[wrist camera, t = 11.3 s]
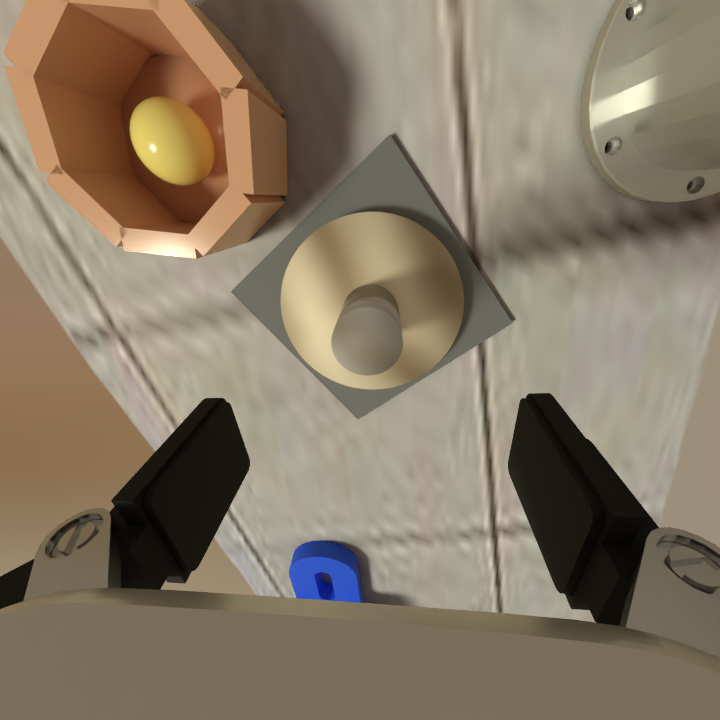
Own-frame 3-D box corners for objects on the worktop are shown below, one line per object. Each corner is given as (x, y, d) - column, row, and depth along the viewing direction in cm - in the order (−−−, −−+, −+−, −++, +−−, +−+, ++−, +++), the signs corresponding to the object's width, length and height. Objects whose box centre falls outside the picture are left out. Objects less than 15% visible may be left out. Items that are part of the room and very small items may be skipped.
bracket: (365, 616, 46) (361, 705, 38) (310, 614, 46) (294, 700, 38) (355, 540, 37) (347, 632, 29) (288, 538, 38) (262, 628, 30)
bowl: (181, -24, 16) (82, -133, 11) (322, 163, 20) (299, 150, 14) (85, 139, 20) (-24, 117, 15) (217, 272, 23) (168, 294, 18)
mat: (389, 135, 19) (389, 134, 18) (510, 320, 23) (512, 322, 23) (233, 290, 24) (231, 291, 23) (358, 416, 29) (358, 419, 28)
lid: (386, 163, 19) (388, 146, 13) (494, 320, 23) (532, 362, 17) (249, 294, 23) (204, 327, 17) (360, 407, 27) (354, 464, 22)
